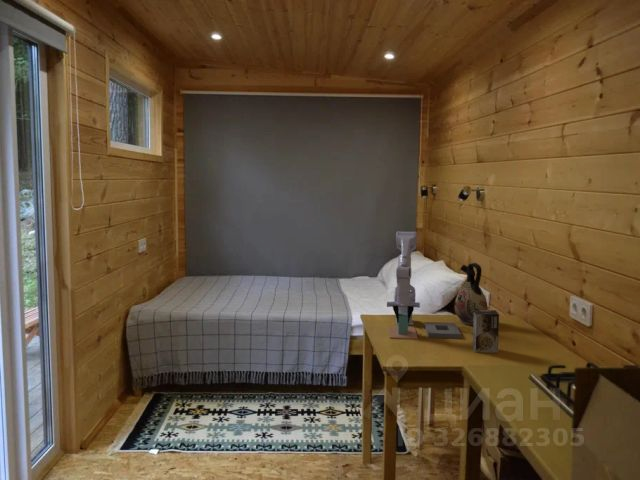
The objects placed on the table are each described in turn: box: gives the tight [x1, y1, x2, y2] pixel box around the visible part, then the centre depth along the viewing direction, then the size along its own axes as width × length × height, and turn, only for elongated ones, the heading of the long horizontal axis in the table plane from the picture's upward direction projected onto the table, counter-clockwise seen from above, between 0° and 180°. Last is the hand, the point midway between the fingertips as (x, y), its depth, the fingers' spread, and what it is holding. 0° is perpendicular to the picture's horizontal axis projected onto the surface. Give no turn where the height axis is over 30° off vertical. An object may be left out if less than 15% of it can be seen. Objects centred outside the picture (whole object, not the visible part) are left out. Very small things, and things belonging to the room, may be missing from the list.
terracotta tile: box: [388, 326, 418, 340], centre depth 239 cm, size 16×12×1 cm
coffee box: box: [472, 309, 500, 354], centre depth 215 cm, size 9×6×16 cm
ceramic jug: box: [454, 262, 489, 326], centre depth 254 cm, size 17×15×30 cm
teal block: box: [397, 313, 409, 334], centre depth 238 cm, size 6×4×8 cm, turn 175°
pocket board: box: [424, 321, 462, 339], centre depth 241 cm, size 18×14×2 cm
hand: (402, 322), depth 238 cm, fingers closed on teal block, 4 cm apart
